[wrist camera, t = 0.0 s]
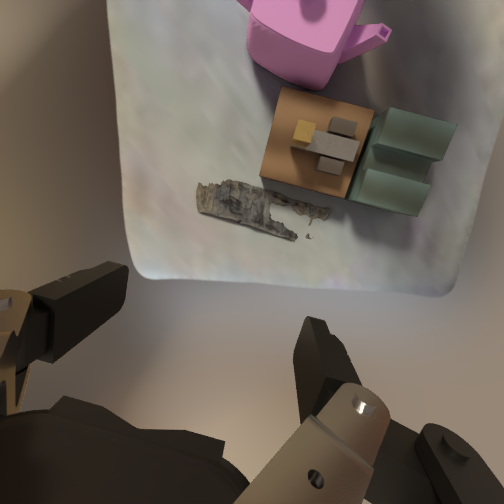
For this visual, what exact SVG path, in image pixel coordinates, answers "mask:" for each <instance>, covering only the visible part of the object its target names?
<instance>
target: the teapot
mask: <svg viewBox="0 0 504 504" xmlns="http://www.w3.org/2000/svg"><path fill="white" fill-rule="evenodd" d="M237 1H238V2H239V3H240V4H241V5H242V6H243V7H245V8H246V9H247V10H248V11H249V12H250V17H249V23H248V32H247V44H248V52H249V54H250V56H251V57H252V59H253V60H254V61H255V62H256V63H258V64H259V65H261V66H262V67H263V68H265V69H267V70H268V71H270V72H272V73H273V74H275V75H277V76H278V77H280V78H282V79H284V80H286V81H288V82H291V83H293V84H296V85H299V86H302V87H304V88H307V89H311V90H316V91H318V90H321V89H323V88H324V87H325V86H326V84H327V83H328V81H329V79H330V77H331V75H332V74H333V72H334V70H335V68H336V66H337V64H338V63H339V64H341V63H344V62H346V61H348V60H350V59H352V58H354V57H356V56H359V55H361V54H363V53H365V52H367V51H369V50H372V49H374V48H376V47H378V46H380V45H382V44H384V43H386V42H387V40H388V38H389V36H390V34H391V32H392V29H390V28H389V27H387V26H386V25H384V24H383V23H380V24H370V25H355V24H356V22H357V19H358V17H359V14H360V12H361V9H362V7H363V4H364V1H365V0H237Z"/></svg>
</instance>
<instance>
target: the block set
mask: <svg viewBox="0 0 504 504" xmlns="http://www.w3.org/2000/svg"><path fill="white" fill-rule="evenodd" d="M374 112H375V110H372V109H368V108H364V107H361V106H357V105H353V104H349V103H345V102H341V101H338V100H334V99H330V98H326V97H322V96H318V95H315V94H311V93H307V92H303V91H299V90H295V89H292V88H288V87H284V86H282V87H281V91H280V95H279V99H278V103H277V107H276V111H275V115H274V119H273V123H272V127H271V130H270V134H269V138H268V142H267V146H266V150H265V154H264V158H263V162H262V166H261V170H260V174H259V176H260V177H263V178H267V179H271V180H274V181H278V182H282V183H286V184H289V185H293V186H297V187H301V188H304V189H308V190H312V191H316V192H319V193H323V194H327V195H330V196H334V197H340V198H343V199H345V200H349V201H353V202H357V203H360V204H364V205H368V206H372V207H375V208H379V209H383V210H387V211H390V212H394V213H399V214H405V215H410V216H416V217H418V214H419V212H420V210H421V208H422V205H423V203H424V201H425V198H426V196H427V194H428V192H429V189H430V187H431V185H428V184H425V183H423V181H424V179H425V177H426V174H427V172H428V170H429V167H430V165H431V163H432V162H435V161H440V160H443V157H444V155H445V153H446V150H447V148H448V146H449V144H450V141H451V139H452V137H453V134H454V132H455V130H456V128H457V125H458V124H454V123H450V122H446V121H442V120H438V119H435V118H431V117H427V116H423V115H419V114H415V113H411V112H408V111H404V110H400V109H396V108H392V107H390V108H388V109H387V110H386V111H384V112H383V113H381V114H380V115H379V116H377V117H376V118H374V119H373V120H372V118H373V115H374ZM298 119H300V120H303V121H307V122H311V123H315V124H316V126H315V129H314V130H318V131H322V132H325V133H329V134H333V135H337V136H341V137H344V138H348V139H352V140H356V141H360V143H359V146H358V149H357V152H356V155H355V158H354V161H353V162H352V163H346V162H342V161H338V160H334V159H331V158H327V157H323V156H319V155H316V154H312V153H308V152H304V151H300V150H297V149H293V148H290V145H291V141H292V137H293V134H294V130H295V127H296V125H297V122H298Z"/></svg>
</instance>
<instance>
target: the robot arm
mask: <svg viewBox="0 0 504 504" xmlns="http://www.w3.org/2000/svg"><path fill="white" fill-rule="evenodd" d="M128 273H129V269H128V267H127V266H126V265H122V264H119V263H115V262H111V261H107V262H105V263H103V264H100V265H98V266H96V267H94V268H91V269H86V270H80V271H77V272H75V273H72V274H70V275H68V276H67V277H66V276H65V277H62V278H60V279H59V280H58V281H57V280H55V281H53V282H51V283H48V284H46V285H43V286H41V287H39V288H36V289H34V290H31V291H29V292H25V291H21V290H13V289H1V290H0V504H362V501H363V499H366V500H367V501H369V502H370V503H372V504H504V488H503V486H502V485H501V483H500V482H499V481H498V479H497V478H496V477H495V475H494V474H493V473H492V471H491V470H490V468H489V467H488V466H487V464H486V463H485V462H484V460H483V459H482V458H481V457H480V455H479V454H478V453H477V452H476V451H475V450H474V449H473V448H472V447H471V446H470V445H469V444H468V443H467V442H466V441H464V440H463V439H462V438H461V437H460V436H458V435H457V434H455V433H454V432H452V431H450V430H449V429H447V428H445V427H443V426H440V425H437V424H433V423H428V424H426V425H425V426H424V427H423V429H422V430H421V432H420V434H418V433H417V432H415V431H412V430H411V429H409V428H407V427H405V426H403V425H401V424H399V423H398V422H396V421H394V420H392V419H391V418H390V413H389V410H388V408H387V407H386V405H385V404H384V403H383V401H382V400H381V399H380V398H379V397H378V396H377V395H376V394H374V393H373V392H372V391H370V390H369V389H367V388H365V387H363V386H362V384H361V382H360V380H359V377H358V375H357V373H356V371H355V369H354V366H353V365H352V363H351V360H350V358H349V356H348V355H347V351H346V349H345V347H344V345H343V343H342V342H341V341H340V340H339V339H338V338H337V337H336V336H335V335H332V334H330V332H329V329H328V327H327V324H326V322H325V321H324V320H321V319H317V318H313V317H310V316H307V317H306V318H305V320H304V323H303V326H302V329H301V332H300V334H299V337H298V340H297V343H296V346H295V349H294V354H293V365H294V372H295V381H296V390H297V398H298V405H299V414H300V423H301V425H300V427H299V428H298V429H297V430H296V431H295V432H294V434H293V435H292V436H291V437H290V438H289V439H288V441H287V442H286V443H285V444H284V445H283V446H282V447H281V449H280V450H279V451H278V452H277V453H276V454H275V456H274V457H273V458H272V459H271V460H270V461H269V463H268V464H267V465H266V466H265V467H264V468H263V470H262V471H261V472H260V473H259V474H258V475H257V477H256V478H255V479H254V480H253V481H252V482H251V483H250V482H249V481H248V480H247V479H246V477H245V476H244V475H243V474H242V473H241V472H240V471H239V470H238V469H237V468H236V467H235V466H234V465H232V464H231V463H230V462H229V461H227V460H226V459H224V458H222V455H223V450H224V445H225V441H222V440H218V439H215V438H212V437H208V436H205V435H201V434H198V433H194V432H190V431H187V430H155V429H138V428H136V427H134V426H132V425H131V424H129V423H128V422H126V421H125V420H123V419H121V418H120V417H118V416H117V415H115V414H114V413H112V412H111V411H109V410H108V409H106V408H104V407H103V406H99V405H95V404H92V403H89V402H85V401H82V400H78V399H74V398H71V397H67V396H63V397H62V398H61V399H60V400H59V401H58V402H57V403H56V404H55V405H54V406H53V407H52V408H51V409H50V410H32V411H26V412H20V409H21V405H22V401H23V397H24V393H25V389H26V385H27V382H28V378H29V374H30V363H32V362H33V361H35V360H36V359H38V360H41V361H45V362H48V363H52V364H53V363H54V362H55V361H57V360H58V359H59V358H61V357H62V356H63V355H64V354H66V353H67V352H68V351H69V350H71V349H72V348H73V347H75V346H76V345H77V344H78V343H80V342H81V341H82V340H83V339H85V338H86V337H87V336H88V335H90V334H91V333H92V332H94V331H95V330H96V329H97V328H99V327H100V326H101V325H102V324H104V323H105V322H106V321H107V320H109V319H110V318H111V317H112V316H114V315H115V314H116V313H118V312H119V311H120V309H121V308H122V306H123V304H124V301H125V297H126V289H127V281H128Z"/></svg>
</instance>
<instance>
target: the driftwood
mask: <svg viewBox="0 0 504 504" xmlns="http://www.w3.org/2000/svg"><path fill="white" fill-rule="evenodd" d="M196 193H197V194H196V197H197V198H196V199H197V208H198V211H199V212H205V213H209V214H213V215H215V216H219V217H223V218H230V219H233V220H236V221H237V222H238V223H240V224H248V225H251V226H252V227H256V228H258V229H261V230H264V231H267V232H268V233H271V234H274V235H277V236H281V237H286V238H289V239H290V240H292V241H295V240H296V239H297V238H298V236H297V234H296V233H294V232H293V231H290V230H288V229H287V228H286V227H284V224H283V223H280V222H278V221H277V222H276V221H274V220H272V219H271V217H270V216H271V214H270V212H269V211H270V205H271V202H272V203H275V204H277V205H281V206H285V205H289V204H290V205H291V206H292V209H293V210H294V211H295V212H296V213H297V214H298V215H308V216H309V217H310V218H311V221H310V223H309V226H310V224H311V222H312V220H313V219H316V218H320V219H322V220H323V221H325V219H326V218H327V216H328V214H329V213H330V209H329V208H326V209H324V208H319V207H315V206H314V207H313V206H312V205H310V204H308V203H302V202H300V201H296V200H292V199H289V198H286V197H284V196H282V195H280V194H278V193H274V192H271V191H267V190H264V189H262V188H259V187H255V186H251V185H249V184H246V183H242V182H238V181H232V180H226V181H224V180H223V182H222V183H221V185H218V184H215V185H214V184H213V183H212V184H210V183H209V186H208V187H207V186H204V187H203V185H202V184H201V183H198V187H197V192H196ZM311 208H312V211H310V209H311ZM306 238H308V239H311V238H309V233H308V234H307V235H306ZM312 238H313V237H312Z"/></svg>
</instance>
